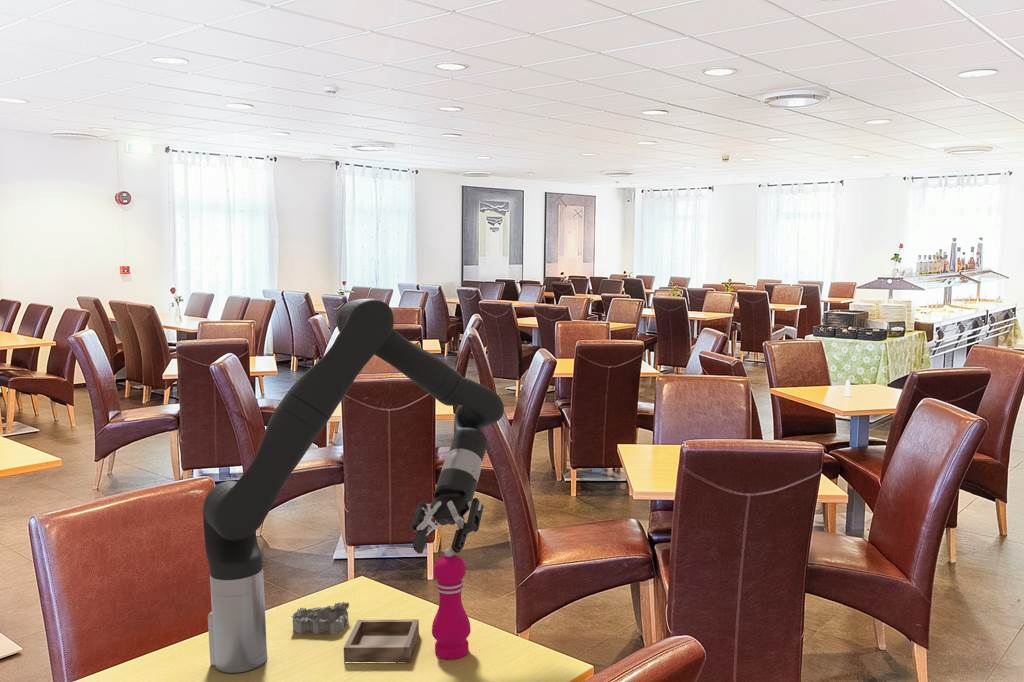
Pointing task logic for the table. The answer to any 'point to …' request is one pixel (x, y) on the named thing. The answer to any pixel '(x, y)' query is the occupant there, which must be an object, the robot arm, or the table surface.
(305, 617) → the egg carton
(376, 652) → the tray
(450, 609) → the pepper mill
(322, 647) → the table surface
